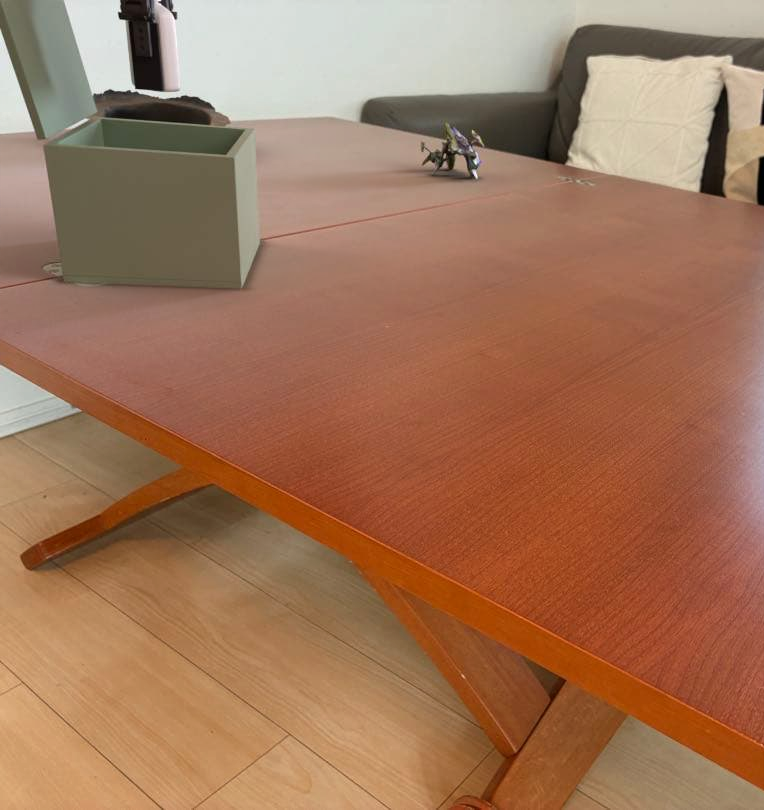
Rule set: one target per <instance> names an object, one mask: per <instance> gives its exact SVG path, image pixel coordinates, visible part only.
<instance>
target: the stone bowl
mask: <svg viewBox="0 0 764 810" xmlns="http://www.w3.org/2000/svg"><path fill="white" fill-rule="evenodd" d="M92 96H93V99H94V102H95V106H96V109H97V112H96V113H95V114H93V115H91V116H89V117H87V118H85V119H86V120H90V119H92V118H93V117H104V118H117V119H131V120H144V121H158V122H171V123H185V124H198V125H212V126H225V127H227V126H228V125H230V124H231V120H230V119H229V116H227V115H226V114H225V115H224V114H223V113H222V112H220V111H216V108H215V107H214V106H213V105H212V103H211V102H209V101H205V100H204V99H201V98H200V97H199V96H189V95H187V94H185V95H180V96H176V97H166V98H162V97H159V96H152V95H149V94H144V93H140V92H139V91H137V90H136V91H131V89H128V90H125V91H122V90H114V89H111V88H108V89H106V90H104V91H103V92H101V93H92Z"/></svg>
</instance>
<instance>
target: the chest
mask: <svg viewBox="0 0 764 810" xmlns="http://www.w3.org/2000/svg"><path fill="white" fill-rule="evenodd" d="M42 146H43V153H44V160H45V166H46V172H47V173H46V174H47V179H48V180H47V181H48V186H49V192H50V199H51V206H52V212H53V218H54V225H55V232H56V239H57V246H58V253H59V258H60V264H61V272H62V279H63V283H75V284H103V285H104V284H105V285H128V286H129V285H132V286H156V287H157V286H158V287H184V288H185V287H187V288H208V289H209V288H212V289H240V290H242V289H243V287H244V284H245V282H246V279H247V277H248V274H249V271H250V269H251V266H252V263H253V261H254V259H255V256H256V254H257V251H258V249H259V246H260V244H261V237H260V233H261V232H260V211H259V191H258V190H259V189H258V188H259V187H258V168H257V146H256V129H255V128H251V127H239V126H238V127H237V126H226V127H225V126H212V125H198V124H185V123H171V122H158V121H144V120H131V119H117V118H104V117H93V118H92V119H87V120H86V121H84V122H82V123H81V124H78V125H77V126H75V127H73V128H72V129H70V130H68V131H65V132H64V133H62V134H60V135H58V136H57V137H55V138H52V139H51V140H49V141H47V142H45V143H44V144H43V145H42Z"/></svg>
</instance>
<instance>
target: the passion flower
mask: <svg viewBox="0 0 764 810" xmlns="http://www.w3.org/2000/svg"><path fill="white" fill-rule="evenodd" d="M444 134H445V136H446V138H445V141H446V142H444V141H442V142H441V145H442V147H441V150H439V149H435V150H434V151H431V150H430V149H429V148H427V147H426V146H425V145H426V143H425V141H420V151H421V153H424V150H426V151H427V152H429V154H428V155H427V156H426V157H425V158H424V160H423V161H422V163H421V166H422V167H423V166H425V165H426V164H427V163H429V162H431V163H432V164H434V167H433V172H432V174H431V177H432V176H435V174H436V172H437V171H438V170H439V169H440V168H442V167H443V166H444V163H446V167H447V171H452V170H454V168H455V165H456V159H457V158H456V155H458V156H463V157H464V159H465V162H466V169H467V172H468V174H469V176H470V178H471V179H472V180H477V179H479V177H478V174H477V170H479V169H480V167H481V166H482V165H481V164H482V160H481V159H480V155H479V154H478V152H476V150H475V149H474V148H473V146H474V144H478V145H479V146H480V147H481V148H482V149H485V147H486V145H485V142H484V141H483V140H482V139H481V136H480V135H479V134H478V133H477V132H476V131H475V130H473V129H471V136H472V138H473V139H472V141H468V139H467V138H466V136H464V135H463V134H461V132H460V131H459V130H457V128H456V127H455V126H453V129H451V127H450V124H449V123H448V122H444ZM444 156H445V157H444Z"/></svg>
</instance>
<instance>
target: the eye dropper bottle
mask: <svg viewBox="0 0 764 810" xmlns="http://www.w3.org/2000/svg"><path fill="white" fill-rule="evenodd" d="M158 1H161V0H154V10H155V16H156V19H155V22H154V23H158V24H159V35H160V47H161V58H162V69H163V80H164V91H157V92H158V93H159V92H160V93H175V92H176V93H177V92H179V91H180V90H181V76H180V75H181V73H180V63H179V50H178V39H177V27H176V20H175V19H174V16H173V15H172V13H171V12H170V11H169V10H168V9H167V8H165V7H164V6H162V5H161V4H160V3H158ZM124 21H125V29H126V30H125V31H126V41H127V51H128V62H129V70H130V80H131V84H132V85H133V86H134V87H135V83H134V73H133V64H132V54H131V44H130V35H129V25H128V21H129V20H124ZM150 91H151V92H153V91H152V90H150Z"/></svg>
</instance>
